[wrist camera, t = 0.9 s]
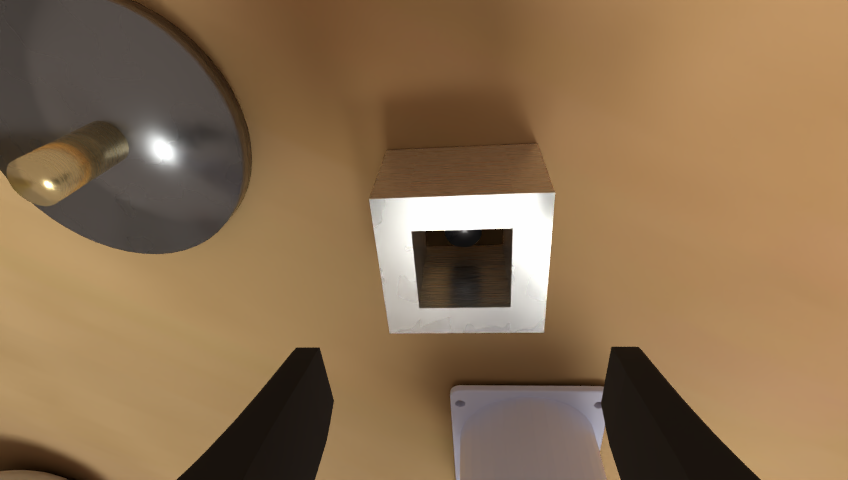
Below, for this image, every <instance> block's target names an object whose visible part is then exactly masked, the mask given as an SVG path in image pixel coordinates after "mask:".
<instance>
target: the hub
mask: <svg viewBox="0 0 848 480" xmlns="http://www.w3.org/2000/svg"><path fill="white" fill-rule="evenodd" d="M251 164H252V155H251V143H250V138H249V134H248V129H247V125H246V122H245V119H244V117H243V114H242V111H241V108H240V106H239V104H238V102H237V100H236V98H235V96H234V94H233V92H232V90H231V89H230V87H229V85H228V84H227V82H226V80H225V79H224V77H223V76H222V74H221V73H220V72H219V70H218V69H217V68H216V66H215V65H214V64H213V62H212V61H211V60H210V59H209V57H208V56H207V55H206V54H205V53H204V52H203V51H202V50H201V49H200V48H199V47H198V46H197V45H196V44H195V43H194V42H193V41H192V40H191V39H190V38H189V37H188V36H187V35H185V34H184V33H183V32H182V31H181V30H180V29H178V28H177V27H176V26H175V25H173V24H172V23H170V22H169V21H167V20H166V19H165V18H163V17H162V16H160V15H159V14H157V13H155V12H154V11H152V10H150V9H148V8H146V7H145V6H143V5H141V4H139V3H137V2H134V1H132V0H0V170H1V171H2V173H3V174H4V175H5V176H6V178H7V179H8V181H9V183H10V184H11V186H12V187H13V189H14V190H15V191H16V192H17V193H18V194H19V195H20V196H22V197H23V198H24V199H26V200H27V201H29V202H31V203H33V204H34V205H35V206H36V207H37V208H39V209H40V210H41V211H43V212H44V213H45V214H47V215H48V216H49V217H51V218H52V219H54V220H55V221H57V222H58V223H60V224H61V225H63V226H65V227H66V228H68V229H70V230H72V231H74V232H76V233H77V234H79V235H81V236H83V237H86V238H88V239H90V240H93V241H95V242H97V243H100V244H103V245H106V246H109V247H112V248H116V249H120V250H124V251H129V252H136V253H143V254H164V253H173V252H178V251H183V250H186V249H189V248H192V247H195V246H197V245H199V244H201V243H203V242H204V241H206V240H208V239H209V238H211V237H212V236H213V235H214V234H216V233H217V232H218V231H219V230H220V229H221V228H222V227H223V225H224V224H225V223H226V222H227V221H228V220H229V218H230V217H231V216H232V215H233V214H234V213H235V211H236V210H237V209H238V207H239V205H240V204H241V202H242V200H243V198H244V196H245V193H246V191H247V188H248V185H249V180H250V175H251Z"/></svg>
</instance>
